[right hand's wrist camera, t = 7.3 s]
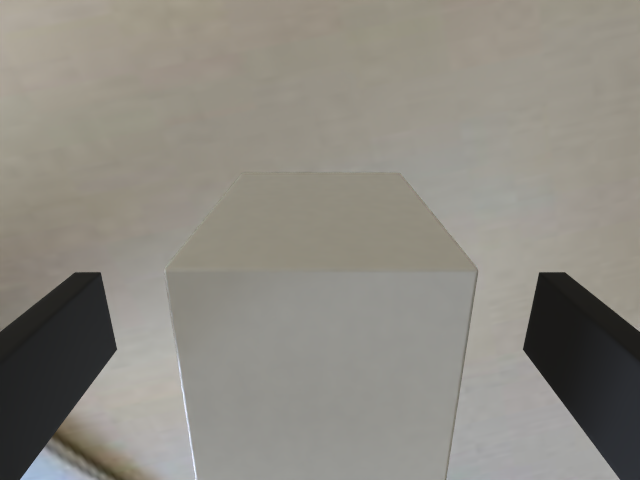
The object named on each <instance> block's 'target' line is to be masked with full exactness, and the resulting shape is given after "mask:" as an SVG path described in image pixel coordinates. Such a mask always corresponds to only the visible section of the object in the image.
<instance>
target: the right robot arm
mask: <svg viewBox="0 0 640 480" xmlns="http://www.w3.org/2000/svg"><path fill="white" fill-rule="evenodd" d="M116 350H117V347H116V342H115V338H114V333H113V328H112V324H111V319H110V314H109V309H108V305H107V300H106V295H105V291H104V286H103V281H102V276H101V272H75V273H74V274H72V275H71V276H70V277H69V278H67V279H66V280H65V281H64V282H62V283H61V284H60V285H59V286H57V287H56V288H55V289H54V290H52V291H51V292H50V293H49V294H47V295H46V296H45V297H44V298H42V299H41V300H40V301H39V302H37V303H36V304H35V305H34V306H32V307H31V308H30V309H28V310H27V311H26V312H25V313H23V314H22V315H21V316H20V317H18V318H17V319H16V320H15V321H13V322H12V323H11V324H10V325H8V326H7V327H6V328H5V329H3V330H2V331H1V332H0V480H20V479H21V477H22V476H23V475H24V473H25V472H26V471H27V469H28V468H29V467H30V465H31V464H32V463H33V461H34V460H35V459H36V457H37V456H38V455H39V453H40V452H41V451H42V449H43V448H44V447H45V445H46V444H47V443H48V441H49V440H50V439H51V437H52V436H53V435H54V433H55V432H56V431H57V429H58V428H59V427H60V425H61V424H62V422H63V421H64V420H65V418H66V417H67V416H68V414H69V413H70V412H71V410H72V409H73V408H74V406H75V405H76V404H77V402H78V401H79V400H80V398H81V397H82V396H83V394H84V393H85V392H86V390H87V389H88V388H89V386H90V385H91V384H92V382H93V381H94V380H95V378H96V377H97V376H98V374H99V373H100V372H101V370H102V369H103V368H104V366H105V365H106V364H107V362H108V361H109V360H110V358H111V357H112V356H113V354H114V353H115V351H116ZM523 350H524V351H525V353H526V354H527V356H528V357H529V358H530V360H531V361H532V362H533V364H534V365H535V366H536V368H537V369H538V370H539V372H540V373H541V374H542V376H543V377H544V378H545V380H546V381H547V382H548V384H549V385H550V386H551V388H552V389H553V390H554V392H555V393H556V394H557V396H558V397H559V398H560V400H561V401H562V402H563V404H564V405H565V406H566V408H567V409H568V410H569V412H570V413H571V414H572V416H573V417H574V418H575V420H576V421H577V422H578V424H579V425H580V427H581V428H582V429H583V431H584V432H585V433H586V435H587V436H588V437H589V439H590V440H591V441H592V443H593V444H594V445H595V447H596V448H597V449H598V451H599V452H600V453H601V455H602V456H603V457H604V459H605V460H606V461H607V463H608V464H609V465H610V467H611V468H612V469H613V471H614V472H615V473H616V475H617V476H618V477H619V479H620V480H640V332H639V331H638V330H637V329H635V328H634V327H633V326H632V325H630V324H629V323H628V322H627V321H625V320H624V319H623V318H622V317H620V316H619V315H618V314H617V313H615V312H614V311H613V310H612V309H610V308H609V307H608V306H606V305H605V304H604V303H603V302H601V301H600V300H599V299H598V298H596V297H595V296H594V295H593V294H591V293H590V292H589V291H588V290H586V289H585V288H584V287H583V286H581V285H580V284H579V283H578V282H576V281H575V280H574V279H573V278H571V277H570V276H569V275H568V274H566V273H565V272H539V276H538V281H537V286H536V291H535V295H534V300H533V305H532V309H531V314H530V319H529V324H528V328H527V333H526V338H525V342H524V347H523Z"/></svg>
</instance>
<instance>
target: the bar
mask: <svg viewBox="0 0 640 480" xmlns="http://www.w3.org/2000/svg"><path fill="white" fill-rule="evenodd" d="M164 275H165V282H166V288H167V295H168V301H169V308H170V314H171V321H172V327H173V334H174V341H175V347H176V354H177V360H178V367H179V373H180V380H181V386H182V393H183V400H184V406H185V413H186V419H187V426H188V432H189V439H190V445H191V452H192V458H193V465H194V472H195V478H196V480H446V477H447V470H448V464H449V457H450V451H451V444H452V438H453V431H454V425H455V418H456V412H457V405H458V399H459V392H460V386H461V379H462V373H463V366H464V360H465V353H466V347H467V340H468V334H469V327H470V321H471V314H472V308H473V301H474V295H475V288H476V282H477V275H478V269H477V267H476V266H475V265H474V263H473V262H472V261H471V260H470V259H469V257H468V256H467V255H466V254H465V252H464V251H463V250H462V249H461V248H460V246H459V245H458V244H457V243H456V241H455V240H454V239H453V238H452V236H451V235H450V234H449V233H448V232H447V230H446V229H445V228H444V227H443V225H442V224H441V223H440V222H439V220H438V219H437V218H436V217H435V216H434V214H433V213H432V212H431V211H430V209H429V208H428V207H427V206H426V204H425V203H424V202H423V201H422V200H421V198H420V197H419V196H418V195H417V193H416V192H415V191H414V190H413V188H412V187H411V186H410V185H409V184H408V182H407V181H406V180H405V179H404V177H403V176H402V175H401V174H400V173H241V175H240V176H239V177H238V178H237V180H236V181H235V182H234V183H233V185H232V186H231V187H230V188H229V189H228V191H227V192H226V193H225V194H224V196H223V197H222V198H221V199H220V201H219V202H218V203H217V204H216V205H215V207H214V208H213V209H212V210H211V212H210V213H209V214H208V215H207V217H206V218H205V219H204V220H203V221H202V223H201V224H200V225H199V226H198V228H197V229H196V230H195V231H194V233H193V234H192V235H191V236H190V237H189V239H188V240H187V241H186V242H185V244H184V245H183V246H182V247H181V249H180V250H179V251H178V252H177V253H176V255H175V256H174V257H173V258H172V260H171V261H170V262H169V263H168V265H167V266H166V267H165V269H164Z"/></svg>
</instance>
